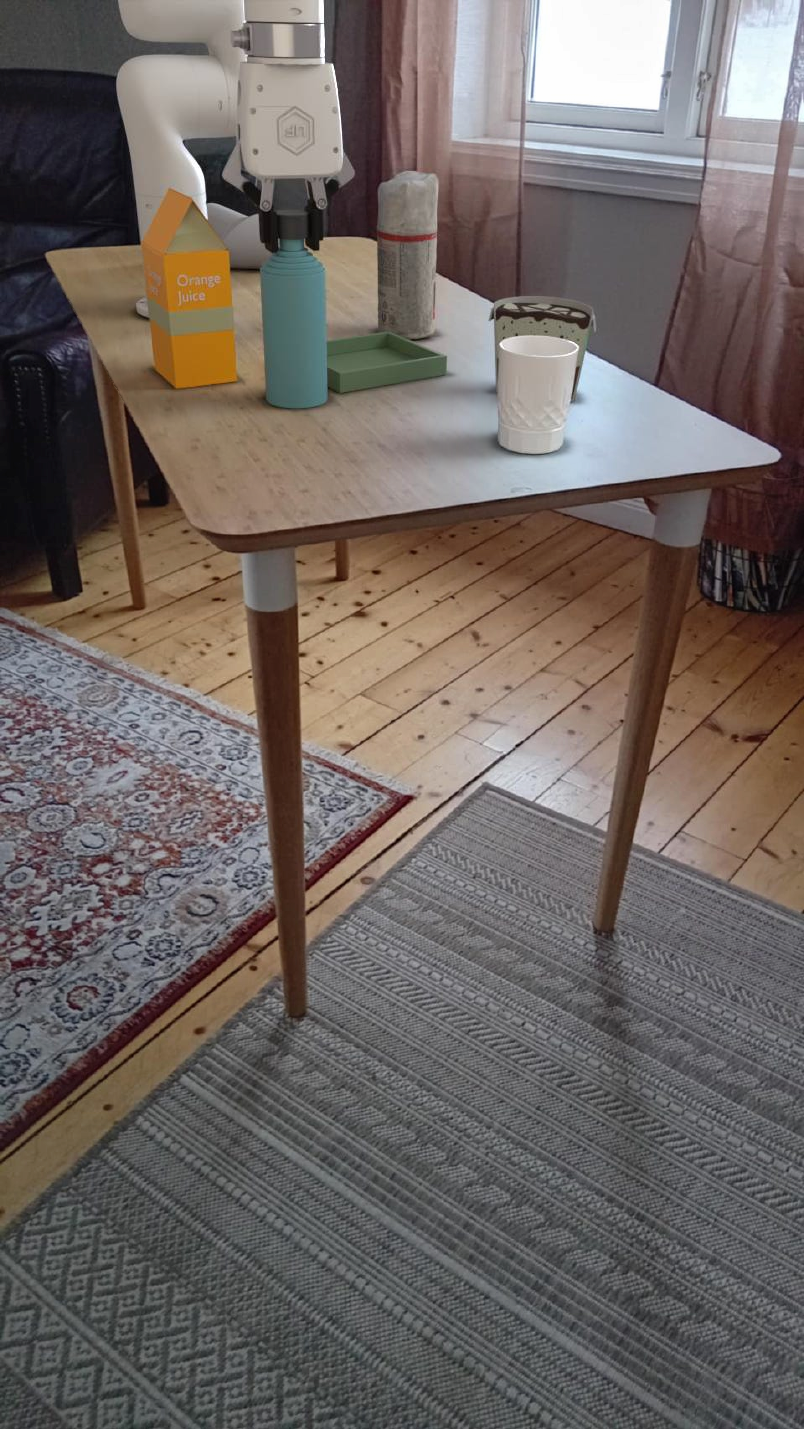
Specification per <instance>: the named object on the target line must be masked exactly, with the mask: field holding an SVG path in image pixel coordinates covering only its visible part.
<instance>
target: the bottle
mask: <svg viewBox="0 0 804 1429" xmlns="http://www.w3.org/2000/svg"><path fill="white" fill-rule="evenodd" d="M279 243H280V247H278V248H279V250H278V251H277V253H272V254H271V256H270V257H268V258H267V261H265V262H263V263H262V267H261V268H260V269H259V277H260V278H259V279H260V280H259V281H260V299H261V300H260V302H261V317H262V318H261V320H262V322H261V323H262V342H263V344H262V345H263V357H264V358H263V360H264V361H263V362H264V382H265V400H266V402H267V403H268V404H270V405H272V406H274V407H278V408H284V409H296V410H297V409H309V408H315V407H320V406H321V405H324V404H325V403H326V402H327V401H328V386H327V340H328V339H327V287H326V282H327V281H326V279H327V278H326V268H325V267H324V264H323V263H322V262H321V261H319V259H318V258H317V257H316V256H314V253H312V252H311V251H309V249H308V247H306V246H305V239H298V240H286V239H279Z"/></svg>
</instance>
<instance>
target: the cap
mask: <svg viewBox="0 0 804 1429" xmlns="http://www.w3.org/2000/svg"><path fill="white" fill-rule="evenodd" d="M274 211H275V212H277V223H278V239H286V240H298V239H304V240H305V239H306V238H309V237H310V220H309V212H307V211H304V209H278V210H274Z"/></svg>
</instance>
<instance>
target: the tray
mask: <svg viewBox="0 0 804 1429" xmlns="http://www.w3.org/2000/svg"><path fill="white" fill-rule="evenodd" d="M447 364H448V355H446V354H443V353H442V352H439V351H437V350H434V349H431V348H429V347H427V346H425V345H422V344H420V343H417V342H415V341H412V340H411V339H406V338H403V337H401V336H398V335H396V334H394V333H391V332H389V331H387V332H381V333H379V332H375V333H367V334H362V335H361V334H360V335H353V336H347V337H341V338H334V339H327V388H330V389H332V390H333V391H335V392H337V393H339V394H342V393H349V392H354V391H361V390H366V389H371V388H377V387H383V386H390V385H395V384H401V383H406V382H412V381H417V380H423V379H429V378H430V379H431V378H435V377H440V376H445V375H447V366H448V365H447Z"/></svg>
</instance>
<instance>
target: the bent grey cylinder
mask: <svg viewBox="0 0 804 1429" xmlns="http://www.w3.org/2000/svg"><path fill="white" fill-rule="evenodd" d="M206 203H207V202H206ZM207 217H208V222H209V223H210V225H211V226H212V227H213V229H214V230H215V232H216V233H217V234H218V236H219V237H220V239H221V240H222V241H223V243H224V244H225V246H226V247H227V248H228V250H229V251H230V252H229V264H230V269H245V270H246V269H248V270H250V269H253V270H260V268H261V267H262V263H263V262H265V261H267V258H268V257H270V256H271V254H272V253H271V252H269V251H268V250H267V249H266V248H265V243H261V241H260V234H259V214H258V213H256V214H253V215H249V216H247V215H245V214H242V213H240V212H238V211H236V210H233V209H231V208H228V207H226V206H224V205H221V204H218V203H214V202H208V203H207ZM278 247H280V243H279V239H278Z"/></svg>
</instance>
